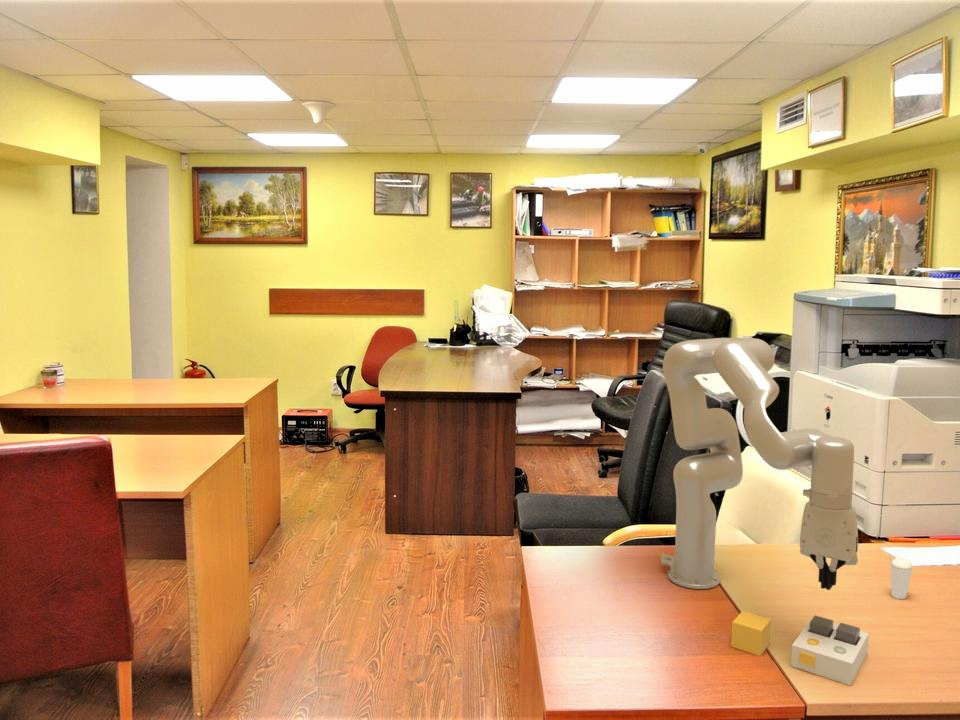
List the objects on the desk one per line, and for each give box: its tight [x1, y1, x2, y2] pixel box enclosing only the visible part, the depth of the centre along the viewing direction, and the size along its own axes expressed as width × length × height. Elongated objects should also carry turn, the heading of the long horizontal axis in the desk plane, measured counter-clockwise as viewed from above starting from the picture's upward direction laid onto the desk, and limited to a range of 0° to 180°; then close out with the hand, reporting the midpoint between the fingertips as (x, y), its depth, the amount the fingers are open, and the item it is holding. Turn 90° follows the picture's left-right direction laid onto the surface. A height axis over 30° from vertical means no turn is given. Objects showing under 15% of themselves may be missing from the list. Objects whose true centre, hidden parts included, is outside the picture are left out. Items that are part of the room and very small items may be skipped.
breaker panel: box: [790, 617, 870, 687], centre depth 153 cm, size 11×14×5 cm
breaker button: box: [835, 622, 861, 646], centre depth 153 cm, size 4×4×4 cm
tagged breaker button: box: [809, 615, 834, 638], centre depth 156 cm, size 4×4×4 cm
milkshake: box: [889, 556, 913, 600], centre depth 180 cm, size 5×5×10 cm
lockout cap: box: [730, 610, 772, 657], centre depth 159 cm, size 6×6×6 cm
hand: (827, 586), depth 154 cm, fingers closed
